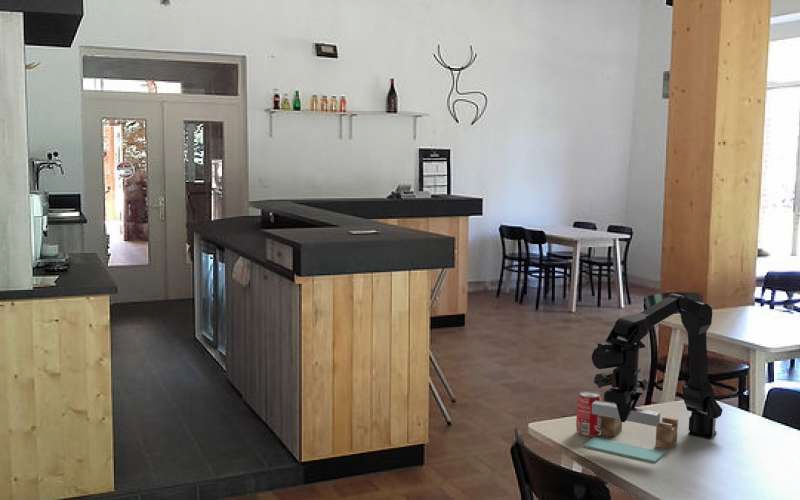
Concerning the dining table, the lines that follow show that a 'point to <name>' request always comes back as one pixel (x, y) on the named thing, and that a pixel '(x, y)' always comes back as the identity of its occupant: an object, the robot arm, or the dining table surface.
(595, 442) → the mat
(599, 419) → the soda can
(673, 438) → the post
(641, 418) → the rail
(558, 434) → the dining table surface
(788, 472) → the dining table surface
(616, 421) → the post
